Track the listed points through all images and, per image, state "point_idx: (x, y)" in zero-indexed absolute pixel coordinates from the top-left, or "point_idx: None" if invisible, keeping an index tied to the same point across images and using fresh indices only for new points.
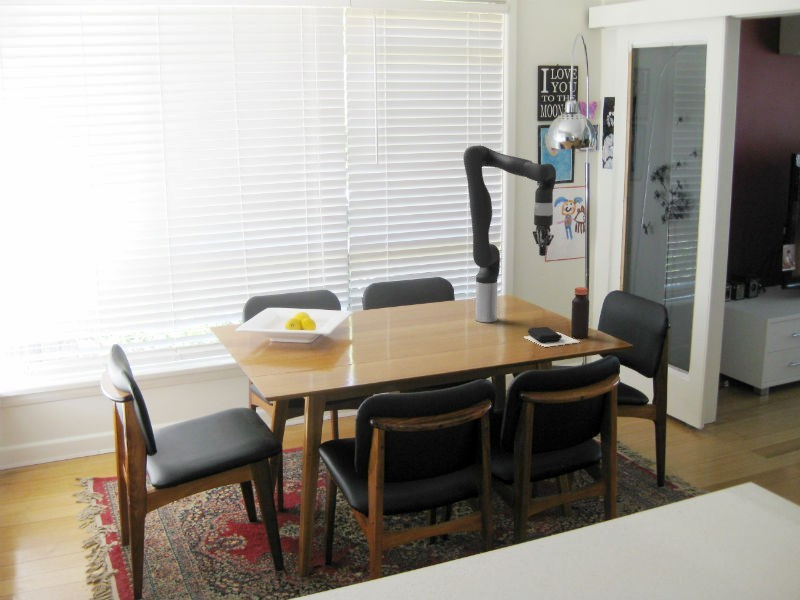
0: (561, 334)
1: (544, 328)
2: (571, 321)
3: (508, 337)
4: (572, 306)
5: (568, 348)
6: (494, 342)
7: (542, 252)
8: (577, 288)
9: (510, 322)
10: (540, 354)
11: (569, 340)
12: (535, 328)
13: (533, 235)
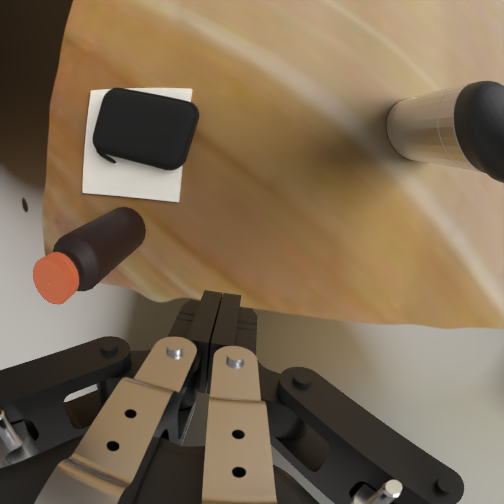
0: (152, 194)
1: (157, 143)
2: (118, 220)
3: (221, 57)
4: (88, 231)
5: (66, 140)
6: (202, 5)
7: (188, 311)
8: (51, 270)
9: (357, 167)
10: (67, 59)
11: (99, 175)
12: (172, 118)
13: (425, 453)
